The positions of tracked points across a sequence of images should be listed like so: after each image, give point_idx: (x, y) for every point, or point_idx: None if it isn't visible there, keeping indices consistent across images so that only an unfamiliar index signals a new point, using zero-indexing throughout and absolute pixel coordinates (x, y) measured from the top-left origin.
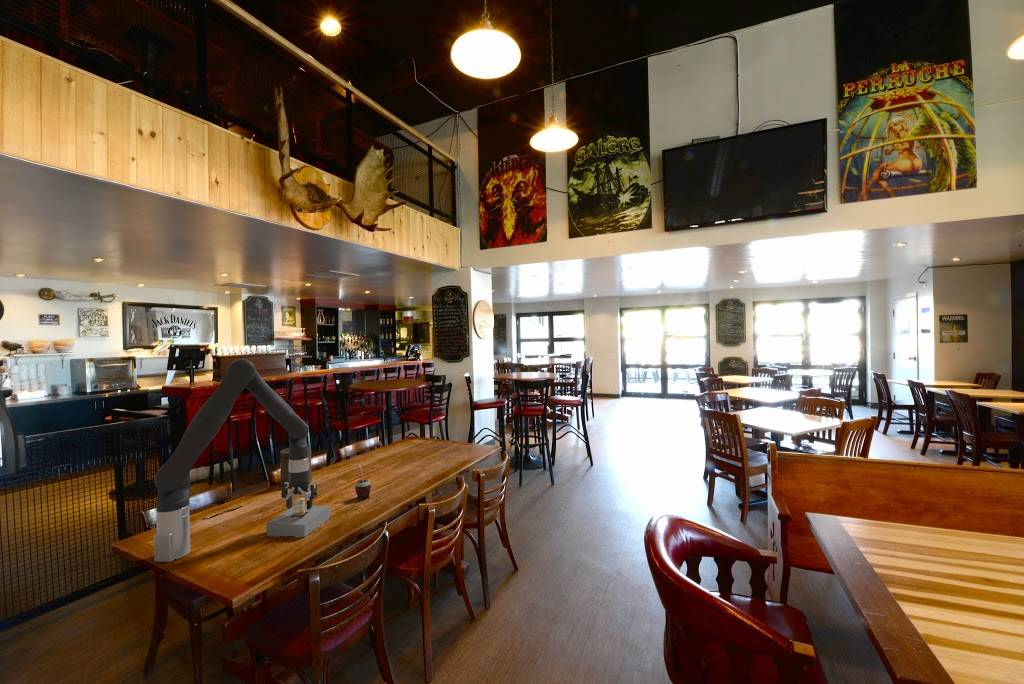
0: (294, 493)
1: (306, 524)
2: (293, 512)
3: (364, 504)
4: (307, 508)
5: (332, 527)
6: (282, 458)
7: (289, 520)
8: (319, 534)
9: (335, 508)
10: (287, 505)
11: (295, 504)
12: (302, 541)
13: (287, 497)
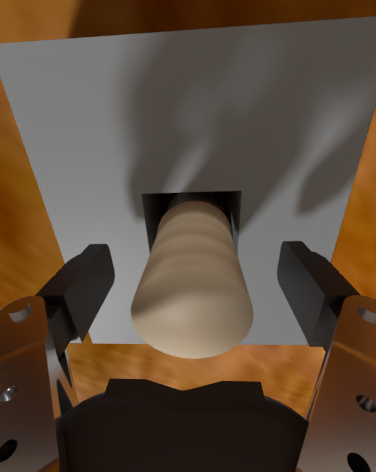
0: (259, 402)
1: (9, 82)
2: (259, 258)
3: (79, 388)
4: (93, 246)
5: (24, 217)
6: None
7: (198, 119)
8: (14, 130)
9: (159, 362)
10: (311, 254)
11: (202, 249)
12: (26, 8)
13: (368, 324)
